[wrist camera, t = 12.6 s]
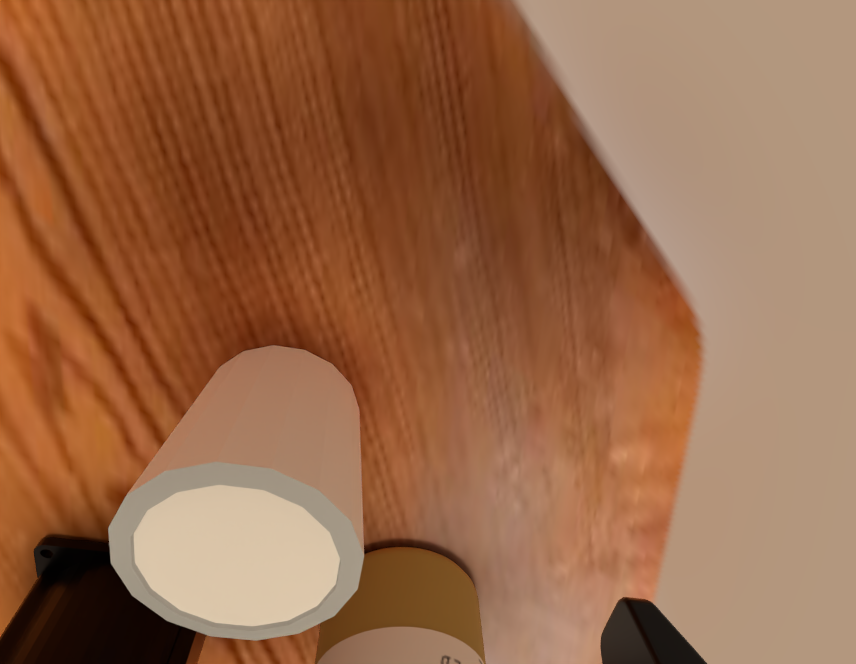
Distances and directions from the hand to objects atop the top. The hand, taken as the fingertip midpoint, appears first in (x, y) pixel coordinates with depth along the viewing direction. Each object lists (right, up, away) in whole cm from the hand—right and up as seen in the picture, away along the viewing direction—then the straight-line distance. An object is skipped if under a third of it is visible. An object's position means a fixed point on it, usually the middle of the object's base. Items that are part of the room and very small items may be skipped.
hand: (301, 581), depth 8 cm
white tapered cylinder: (-4, +1, +15) cm, 15 cm away
